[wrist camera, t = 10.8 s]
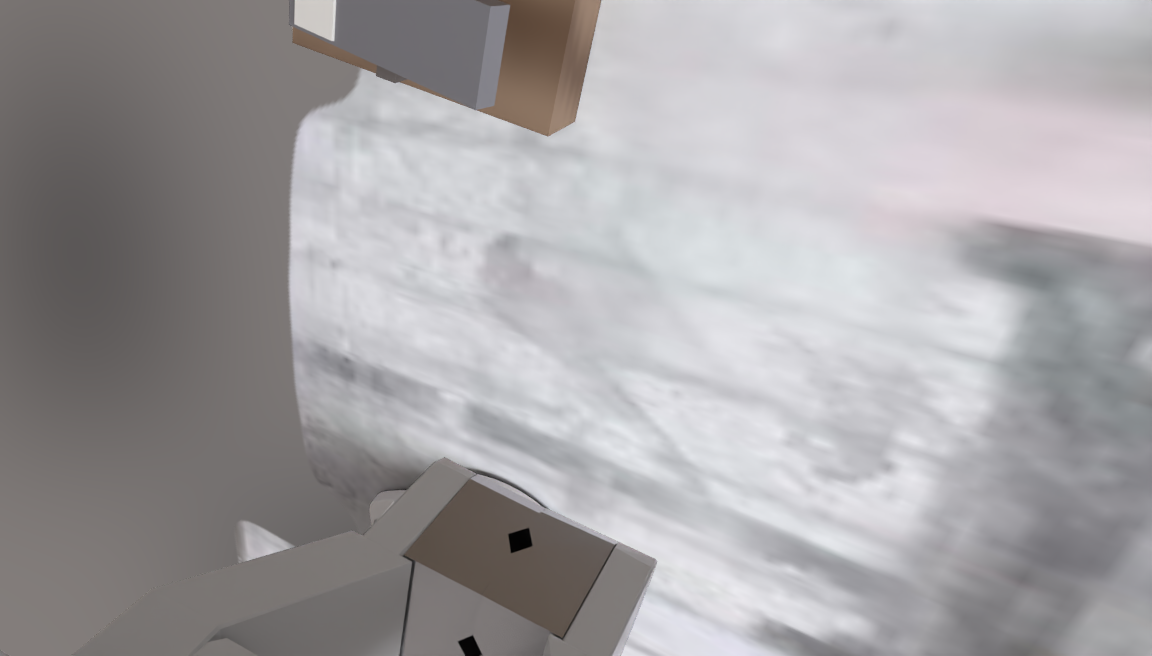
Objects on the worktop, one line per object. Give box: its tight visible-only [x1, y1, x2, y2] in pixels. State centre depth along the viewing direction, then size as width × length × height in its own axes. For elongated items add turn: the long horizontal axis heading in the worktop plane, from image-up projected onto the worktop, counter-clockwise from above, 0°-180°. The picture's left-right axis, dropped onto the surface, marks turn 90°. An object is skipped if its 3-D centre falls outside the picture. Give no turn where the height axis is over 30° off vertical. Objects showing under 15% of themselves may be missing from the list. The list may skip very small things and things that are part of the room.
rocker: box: [289, 0, 510, 110], centre depth 33 cm, size 4×11×1 cm, turn 77°
